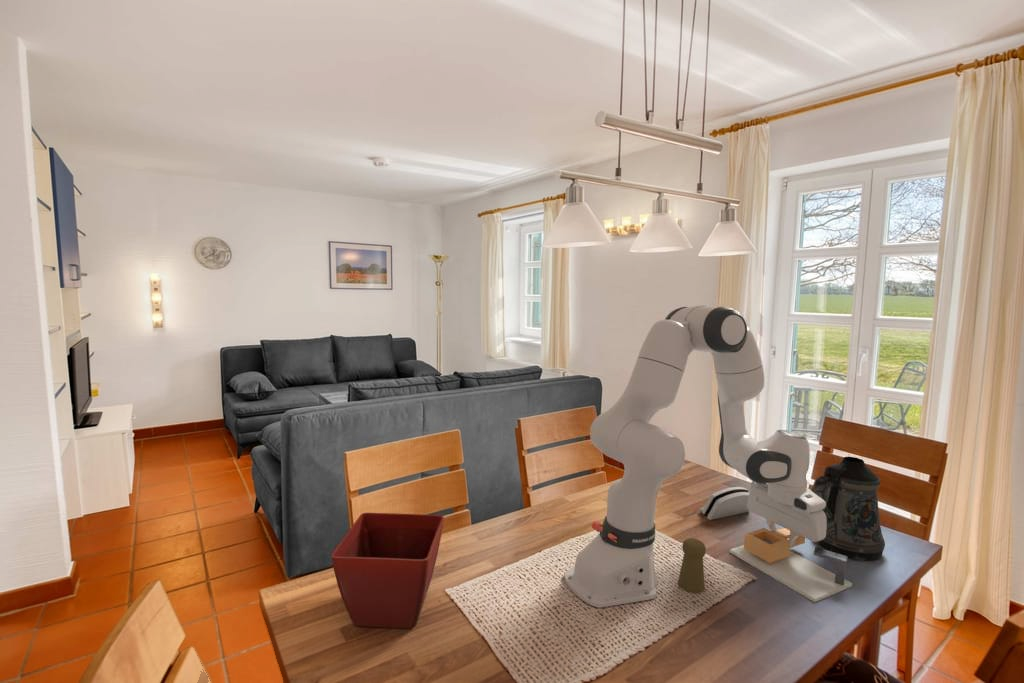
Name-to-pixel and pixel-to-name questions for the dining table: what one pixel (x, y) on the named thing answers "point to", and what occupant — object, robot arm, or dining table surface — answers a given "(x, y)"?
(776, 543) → the link
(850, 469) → the beer stein
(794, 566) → the board
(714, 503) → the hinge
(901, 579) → the dining table surface
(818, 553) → the bracket
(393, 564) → the plant pot
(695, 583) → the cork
